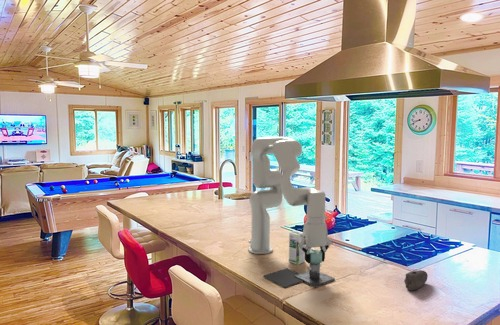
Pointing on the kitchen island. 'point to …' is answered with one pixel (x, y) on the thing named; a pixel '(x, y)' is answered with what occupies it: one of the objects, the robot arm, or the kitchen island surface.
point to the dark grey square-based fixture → (314, 276)
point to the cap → (315, 256)
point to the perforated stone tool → (415, 279)
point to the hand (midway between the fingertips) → (314, 261)
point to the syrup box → (296, 248)
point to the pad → (283, 277)
